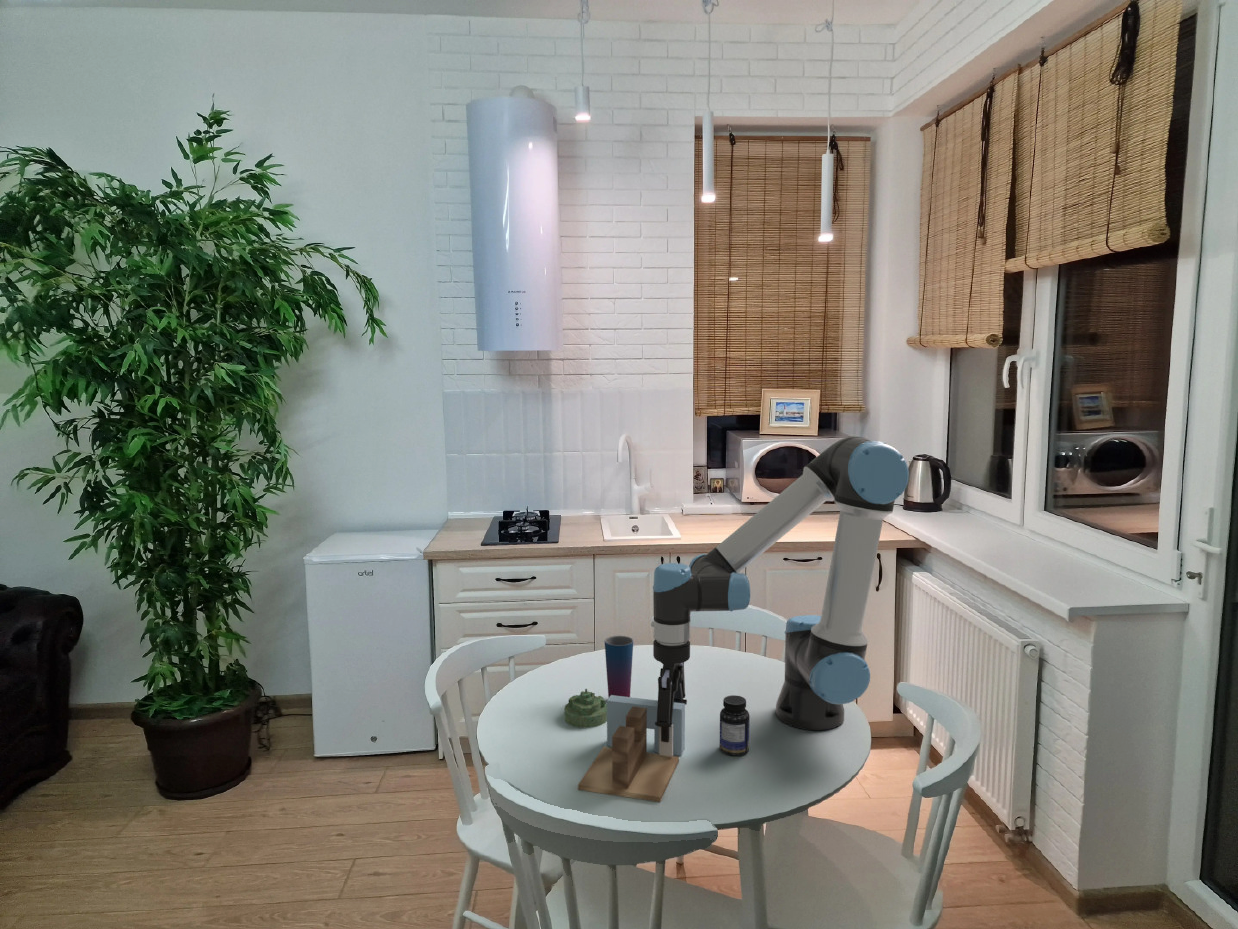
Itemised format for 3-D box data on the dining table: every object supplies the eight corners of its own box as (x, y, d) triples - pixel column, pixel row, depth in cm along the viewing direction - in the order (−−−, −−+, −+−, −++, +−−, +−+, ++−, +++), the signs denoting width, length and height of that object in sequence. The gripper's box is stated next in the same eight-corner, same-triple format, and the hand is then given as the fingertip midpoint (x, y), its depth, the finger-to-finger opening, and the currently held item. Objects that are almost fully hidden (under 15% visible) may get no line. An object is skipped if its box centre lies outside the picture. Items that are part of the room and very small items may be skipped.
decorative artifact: (614, 724, 187) (600, 706, 196) (614, 694, 186) (600, 678, 195) (571, 731, 183) (559, 713, 193) (571, 701, 182) (558, 684, 192)
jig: (678, 761, 169) (679, 709, 168) (660, 802, 154) (660, 745, 152) (603, 751, 174) (603, 700, 172) (578, 789, 158) (577, 734, 157)
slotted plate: (684, 749, 174) (684, 703, 173) (681, 756, 171) (681, 709, 170) (611, 739, 179) (611, 695, 177) (607, 746, 176) (606, 700, 175)
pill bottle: (729, 740, 178) (730, 691, 177) (754, 749, 174) (755, 698, 173) (713, 751, 173) (714, 700, 172) (739, 760, 170) (739, 708, 168)
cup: (630, 708, 194) (630, 646, 192) (602, 706, 196) (601, 644, 194) (635, 696, 201) (635, 636, 199) (608, 694, 202) (607, 634, 200)
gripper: (665, 622, 182) (665, 720, 185) (640, 656, 161) (640, 766, 164) (699, 625, 179) (699, 724, 182) (678, 660, 159) (677, 771, 162)
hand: (671, 744), depth 173 cm, fingers open, 9 cm apart
